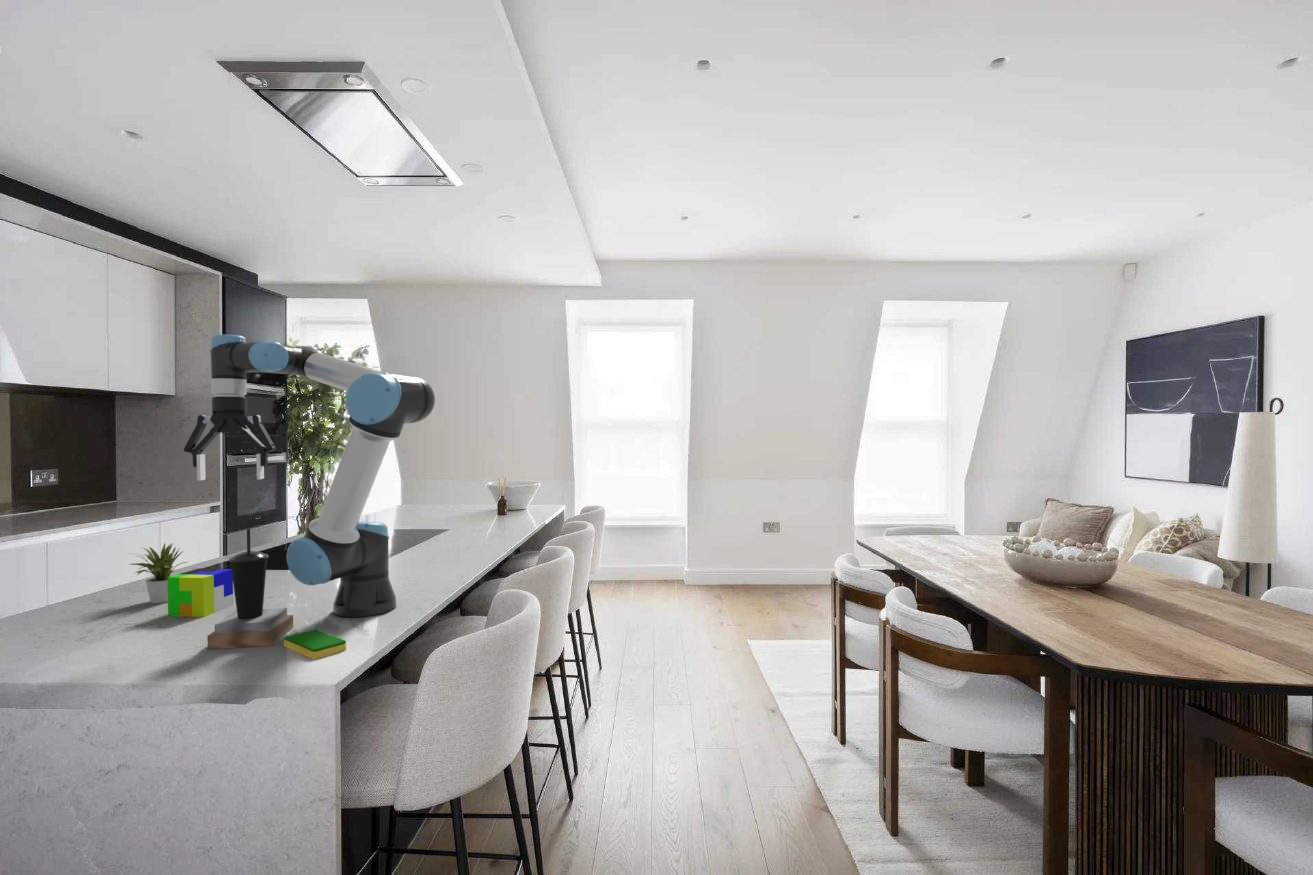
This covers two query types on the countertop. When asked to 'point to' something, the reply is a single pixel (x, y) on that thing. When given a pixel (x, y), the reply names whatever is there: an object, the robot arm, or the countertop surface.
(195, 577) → the puzzle toy
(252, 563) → the drinking cup
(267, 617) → the two-layer plinth
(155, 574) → the house plant
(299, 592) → the countertop surface
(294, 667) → the countertop surface
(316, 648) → the dish sponge
